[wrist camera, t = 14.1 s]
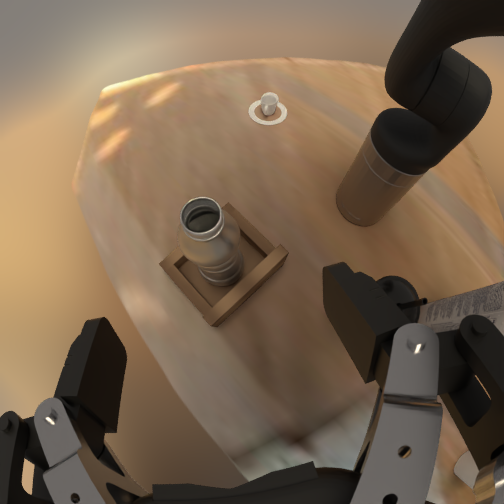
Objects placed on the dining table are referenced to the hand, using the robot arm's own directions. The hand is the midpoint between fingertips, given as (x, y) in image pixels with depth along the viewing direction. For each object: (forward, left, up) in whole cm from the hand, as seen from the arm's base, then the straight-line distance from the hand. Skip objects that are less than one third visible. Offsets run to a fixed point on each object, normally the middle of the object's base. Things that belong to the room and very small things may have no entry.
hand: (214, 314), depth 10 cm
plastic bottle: (-4, -9, -32) cm, 34 cm away
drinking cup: (-13, +11, -33) cm, 37 cm away
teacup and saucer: (-35, -26, -33) cm, 55 cm away
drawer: (-4, -9, -33) cm, 34 cm away
